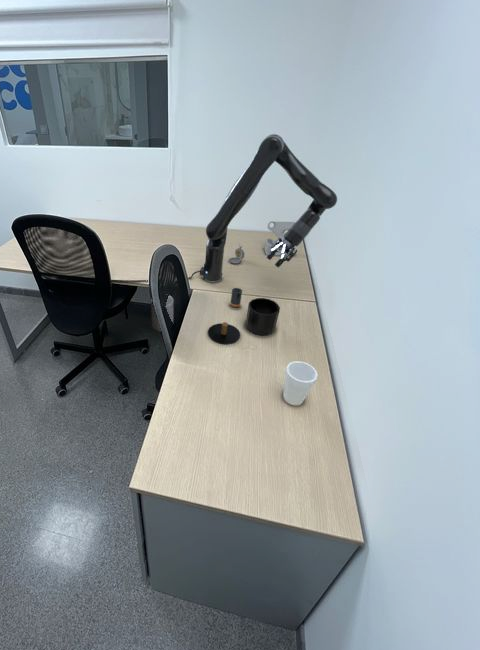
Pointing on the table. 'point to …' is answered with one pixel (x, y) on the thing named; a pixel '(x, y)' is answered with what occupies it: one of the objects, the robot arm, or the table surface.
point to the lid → (224, 333)
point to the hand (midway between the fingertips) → (272, 262)
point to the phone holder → (279, 231)
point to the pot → (262, 316)
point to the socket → (236, 298)
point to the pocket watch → (237, 252)
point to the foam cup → (298, 382)
